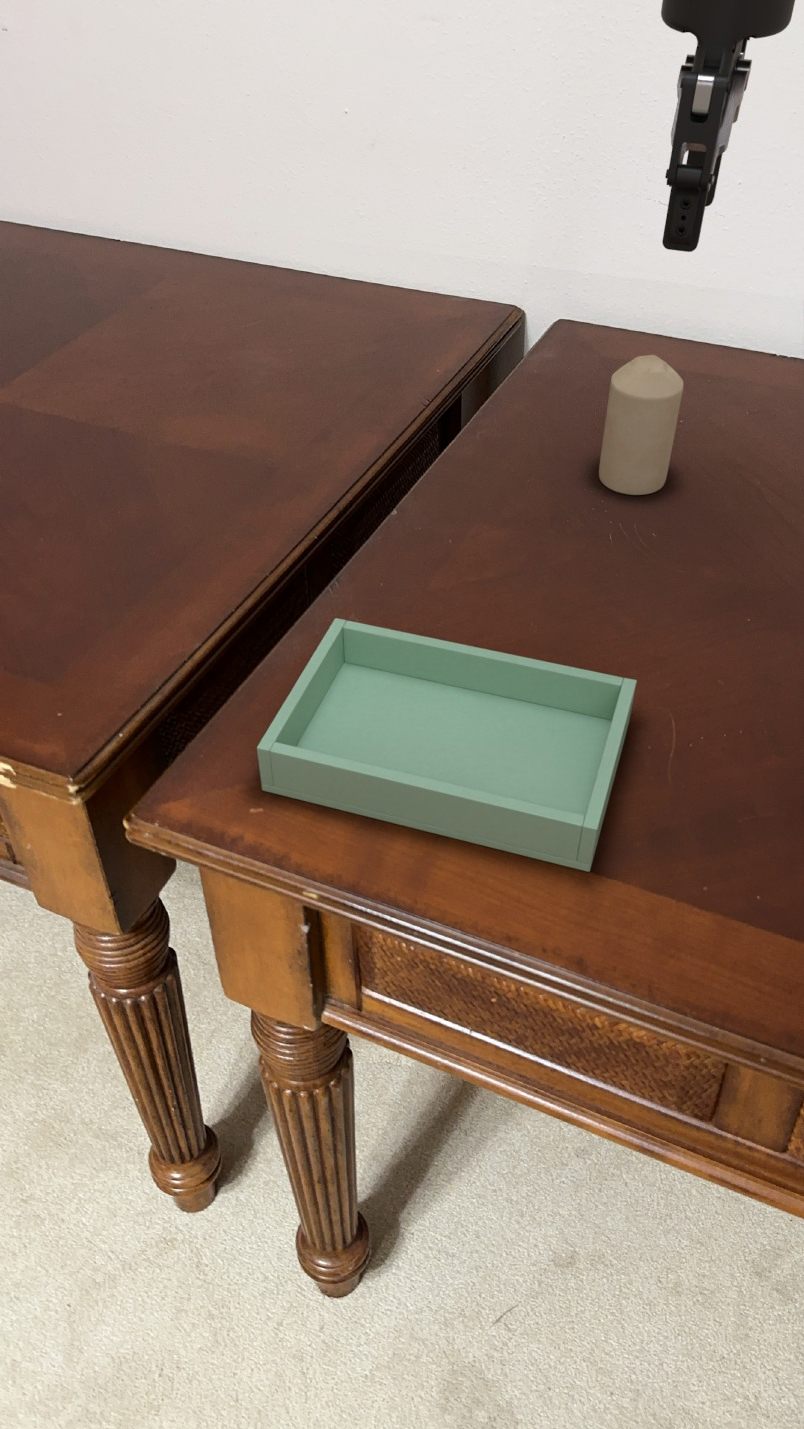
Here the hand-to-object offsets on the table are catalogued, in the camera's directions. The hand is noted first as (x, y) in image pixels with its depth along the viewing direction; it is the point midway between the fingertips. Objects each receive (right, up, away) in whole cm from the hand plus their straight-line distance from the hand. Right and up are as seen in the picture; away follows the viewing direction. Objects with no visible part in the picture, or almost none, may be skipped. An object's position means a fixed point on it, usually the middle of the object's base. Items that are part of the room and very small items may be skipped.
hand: (688, 225), depth 73 cm
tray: (-16, -35, -6) cm, 39 cm away
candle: (0, -13, +17) cm, 22 cm away
